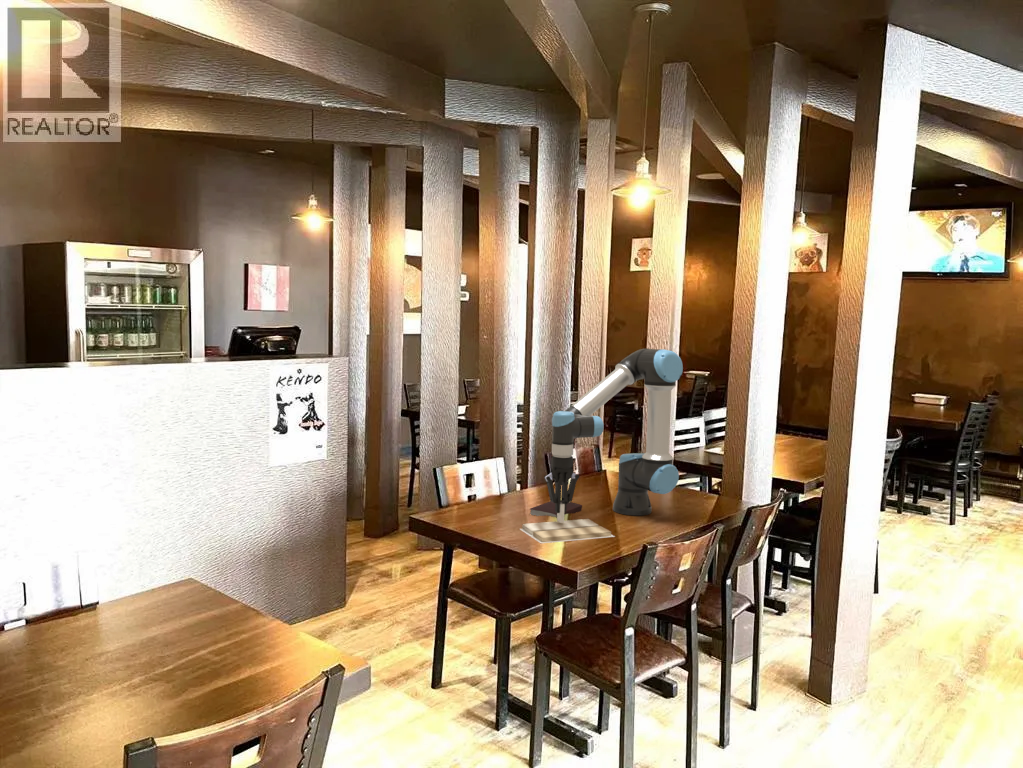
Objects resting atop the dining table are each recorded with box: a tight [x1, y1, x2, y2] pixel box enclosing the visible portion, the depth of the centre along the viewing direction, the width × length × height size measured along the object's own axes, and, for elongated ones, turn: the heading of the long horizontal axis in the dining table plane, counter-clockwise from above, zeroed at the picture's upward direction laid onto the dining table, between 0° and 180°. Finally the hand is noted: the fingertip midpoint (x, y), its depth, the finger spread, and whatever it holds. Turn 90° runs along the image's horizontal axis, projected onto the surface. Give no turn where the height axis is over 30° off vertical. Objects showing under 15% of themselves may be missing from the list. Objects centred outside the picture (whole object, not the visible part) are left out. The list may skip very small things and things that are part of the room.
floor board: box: [519, 528, 616, 544], centre depth 261 cm, size 28×18×1 cm, turn 112°
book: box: [529, 500, 583, 519], centre depth 292 cm, size 12×19×3 cm, turn 145°
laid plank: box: [533, 525, 612, 542], centre depth 257 cm, size 26×8×2 cm, turn 112°
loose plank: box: [521, 518, 600, 535], centre depth 265 cm, size 26×8×2 cm, turn 112°
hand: (560, 521), depth 266 cm, fingers closed
